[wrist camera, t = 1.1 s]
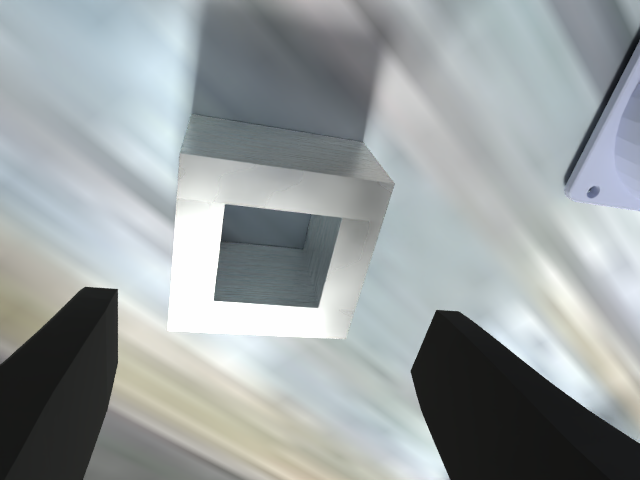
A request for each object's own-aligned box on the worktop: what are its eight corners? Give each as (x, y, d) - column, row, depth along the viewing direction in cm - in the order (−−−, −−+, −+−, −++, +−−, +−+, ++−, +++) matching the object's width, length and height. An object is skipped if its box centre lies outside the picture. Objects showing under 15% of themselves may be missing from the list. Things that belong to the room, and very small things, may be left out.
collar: (363, 142, 15) (394, 183, 12) (327, 277, 18) (345, 339, 15) (191, 113, 14) (179, 153, 11) (179, 265, 16) (167, 330, 14)
